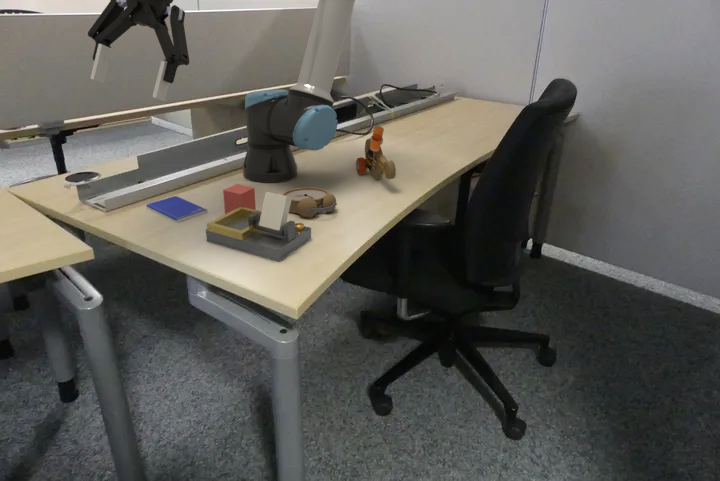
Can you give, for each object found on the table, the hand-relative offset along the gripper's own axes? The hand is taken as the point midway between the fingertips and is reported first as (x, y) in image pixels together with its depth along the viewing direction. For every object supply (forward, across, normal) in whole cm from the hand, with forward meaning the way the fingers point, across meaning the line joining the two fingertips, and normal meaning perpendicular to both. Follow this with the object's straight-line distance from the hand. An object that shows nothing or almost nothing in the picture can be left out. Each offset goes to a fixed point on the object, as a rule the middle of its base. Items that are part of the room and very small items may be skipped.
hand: (127, 90), depth 95 cm
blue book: (+23, +1, +25) cm, 34 cm away
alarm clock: (+14, +28, +36) cm, 48 cm away
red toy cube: (+19, +14, +28) cm, 37 cm away
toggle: (+18, +29, +14) cm, 37 cm away
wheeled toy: (+2, +36, +60) cm, 70 cm away
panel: (+21, +26, +18) cm, 38 cm away
